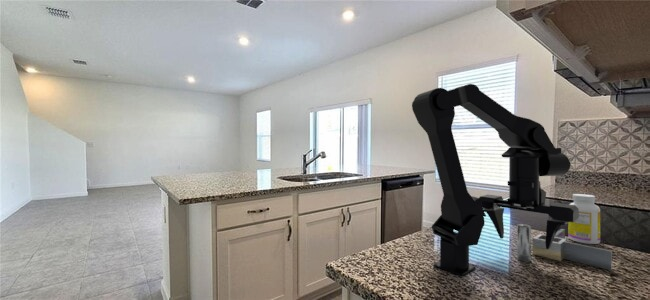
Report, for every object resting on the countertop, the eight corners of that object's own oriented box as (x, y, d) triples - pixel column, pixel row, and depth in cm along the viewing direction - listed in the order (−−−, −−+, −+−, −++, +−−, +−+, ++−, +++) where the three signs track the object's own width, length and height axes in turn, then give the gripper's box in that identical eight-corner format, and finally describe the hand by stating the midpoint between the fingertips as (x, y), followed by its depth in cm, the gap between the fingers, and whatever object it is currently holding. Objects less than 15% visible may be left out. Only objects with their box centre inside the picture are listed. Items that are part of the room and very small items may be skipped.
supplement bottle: (586, 237, 82) (587, 193, 82) (607, 245, 75) (607, 197, 75) (562, 236, 83) (562, 193, 83) (580, 244, 76) (580, 197, 76)
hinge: (609, 273, 59) (609, 254, 59) (532, 254, 70) (532, 238, 69) (619, 255, 69) (619, 238, 68) (550, 241, 79) (550, 226, 79)
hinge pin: (528, 262, 65) (528, 227, 65) (515, 259, 67) (515, 225, 67) (532, 259, 66) (532, 225, 66) (519, 256, 68) (519, 223, 68)
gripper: (584, 177, 64) (584, 246, 64) (494, 172, 79) (494, 228, 79) (572, 181, 57) (572, 258, 57) (476, 174, 72) (476, 236, 72)
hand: (523, 243), depth 66 cm, fingers open, 9 cm apart
